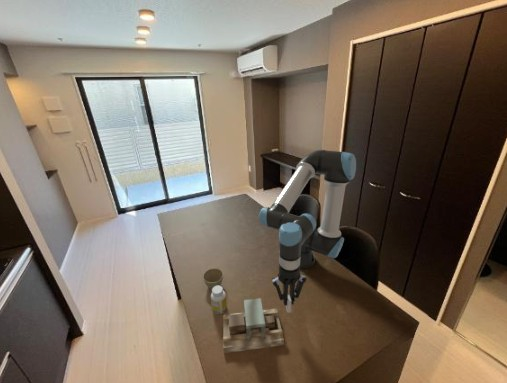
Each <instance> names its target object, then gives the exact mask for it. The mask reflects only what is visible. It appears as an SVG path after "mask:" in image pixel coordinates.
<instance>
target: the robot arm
mask: <svg viewBox="0 0 507 383" xmlns="http://www.w3.org/2000/svg"><path fill="white" fill-rule="evenodd" d="M356 171H357V158H356V157H355V154H353V153H351V152H347V151H337V150H327V149H317V150H314V151H312V152H310V153H308V154H307V155H305V156H304V157H303V158H302V159H301V160H299V162H298V163H297V164H296V167H295V171H294V173H293V174H292V175H291V177H290V178H289V179H288V181H287V183H286V184H285V185H284V187H283V189H282V190H281V192H280V193H279V194H278V195H277V197H276V199H275V200H274V202H273V203H272V204H271V206H270V207H269V206H264V207H262V208H261V209H260V211H259V214H258V221H259V223H260V224H262V225H263V226H266V227H268V228H272V229H274V230H277V231H279V232H278V250H279V251H278V274H277V277H272V278H271V281H272V284H273V286H274V287H275V289H276V291H277V294H278V298H279V300H280V301H283V305H284V306H285V309H286V313H287V314H288V313H289V314H290V313H292V305H293V306H294V304H295V303H294V302H295V301H296V300H295V299H299V297H300V295H301V292H302V290H303V287H304V284H305V283H306V281H307V277H306V275H305V274H304V273H302V274H301V269H309V268H312V267H313V266H314V265H315V262H316V256H315V253H318V254H320V255H323V256H325V257H327V258H332V259H335V258H337V257H338V256H339V253H340V252H341V249H342V247H343V246H344V245H343V244H344V241H345V238H344V237H343V236H342V232H341V230H340V222H341V218H342V211H343V203H344V197H345V190H346V187H347V185H348V184H350V183H351V182H350V181H351V180H353V179H354V178H355V176H356ZM315 175H323V176H324V177H323V180H324V182H325V183H326V186H325V194H324V202H323V210H322V217H321V224H320V226H319V227H318V228H317V220H316V219H315V217H314V216H313V215H311V213H302V214H301V215H297V214H296V215H295V214H292V213H290V211H291V210H292V207H293V206H294V205H295V203H296V202H297V200H298V198H299V197H300V195H301V194H302V192H303V190H304V188H305V187H306V185H307V184H308V183H309V181H310V179H313V178H314V177H315ZM316 228H317V229H316ZM314 252H315V253H314ZM280 282H281V283H282V284H283V285H282V288H283V289H282V290H281V288H280ZM282 292H283V293H282Z"/></svg>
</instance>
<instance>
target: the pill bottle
mask: <svg viewBox="0 0 507 383" xmlns="http://www.w3.org/2000/svg"><path fill="white" fill-rule="evenodd" d="M226 294H227V293H226V292H225V291H224V289H223V286H221V285H220V286H219V285H218V286H215V287H213V289H211V294H210V301H211V302H210V303H211V309H212V311H213V313H214V314H216V315H221V314H223V313H225V312H226V310H227V307H228V305H227V297H226V296H227V295H226Z"/></svg>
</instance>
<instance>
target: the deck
mask: <svg viewBox="0 0 507 383" xmlns="http://www.w3.org/2000/svg"><path fill="white" fill-rule="evenodd" d="M243 306H244V307H243V308H244V311H243V312H237V313H235V312H234V313H227V314H223V317H222V319H223V320H222V321H223V325H222V326H223V331H222V332H223V335H222V342H223V344H222V346H223V347H222V348H223V353H224V354H227V353H229V354H230V353H236V352H242V351H243V352H244V351H250V350H256V349H257V350H258V349H265V348H271V347H279V346H280V347H281V346H284V345H285V338H284V335H283V329H282V326H281V322H280V318H279V310H278V309H277V308H270V309H269V308H268V309H263V304H262V298H260V297H259V298H252V299H244V300H243ZM242 313H244V319H246V331H245V334H238V335H230V331H229V315H234V314H242ZM272 315H273V316H274V321H275V325H276V329H272V330H270V329H269V328H265V320H264V316H272ZM256 327H261V329H257V330H251V329H250V328H256Z"/></svg>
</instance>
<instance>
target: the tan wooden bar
mask: <svg viewBox="0 0 507 383" xmlns="http://www.w3.org/2000/svg"><path fill="white" fill-rule="evenodd" d="M241 313H242V314H235V313H233V314H234V315H229V331H230V335H238V334H245V331H246V319H244V313H243V312H241ZM264 320H265V328H270V329H271V328H275V327H276V321H274V316H273V315H272V316H264ZM250 329H251V330H257V329H261V327H256V328H250Z"/></svg>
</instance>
